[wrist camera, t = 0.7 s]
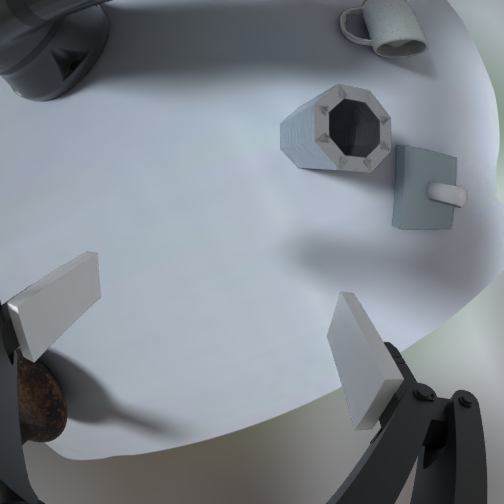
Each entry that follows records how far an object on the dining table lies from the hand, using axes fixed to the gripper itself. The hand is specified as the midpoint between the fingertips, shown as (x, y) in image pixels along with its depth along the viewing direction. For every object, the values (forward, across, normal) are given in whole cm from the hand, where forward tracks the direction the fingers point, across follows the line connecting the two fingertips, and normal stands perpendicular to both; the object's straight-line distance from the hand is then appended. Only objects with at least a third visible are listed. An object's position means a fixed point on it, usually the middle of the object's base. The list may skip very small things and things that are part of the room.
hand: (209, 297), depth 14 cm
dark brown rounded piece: (+12, -33, -30) cm, 47 cm away
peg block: (+24, +25, +8) cm, 35 cm away
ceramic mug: (+23, +14, +29) cm, 39 cm away
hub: (+20, +6, +11) cm, 24 cm away
